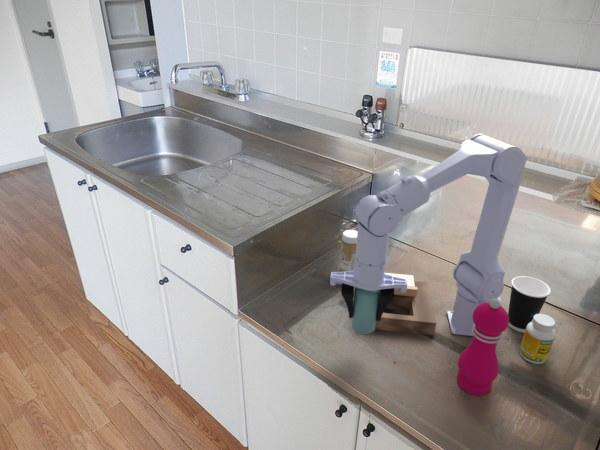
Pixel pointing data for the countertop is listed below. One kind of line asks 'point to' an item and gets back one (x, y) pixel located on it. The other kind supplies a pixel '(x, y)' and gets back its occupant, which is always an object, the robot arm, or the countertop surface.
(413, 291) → the panel
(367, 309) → the peg
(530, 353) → the supplement bottle
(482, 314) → the pepper mill
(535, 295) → the dixie cup
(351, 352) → the countertop surface
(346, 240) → the sprinkles bottle
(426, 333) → the socket block
